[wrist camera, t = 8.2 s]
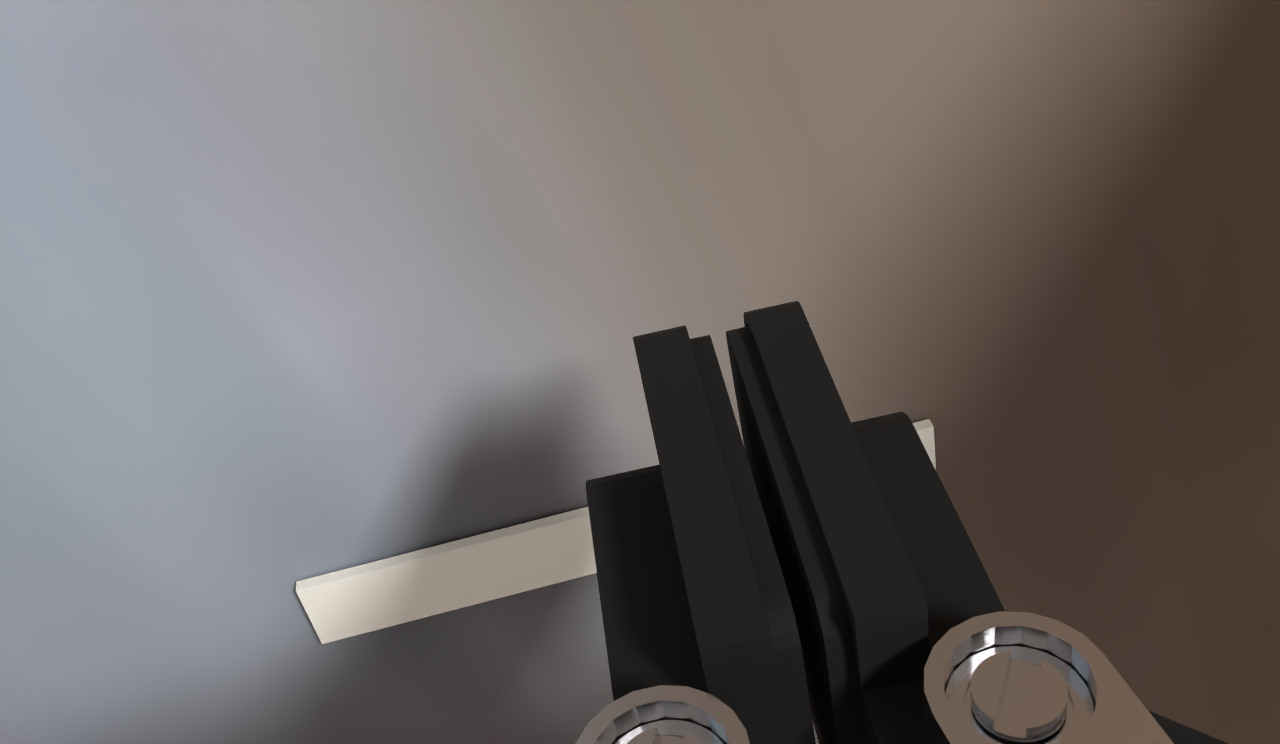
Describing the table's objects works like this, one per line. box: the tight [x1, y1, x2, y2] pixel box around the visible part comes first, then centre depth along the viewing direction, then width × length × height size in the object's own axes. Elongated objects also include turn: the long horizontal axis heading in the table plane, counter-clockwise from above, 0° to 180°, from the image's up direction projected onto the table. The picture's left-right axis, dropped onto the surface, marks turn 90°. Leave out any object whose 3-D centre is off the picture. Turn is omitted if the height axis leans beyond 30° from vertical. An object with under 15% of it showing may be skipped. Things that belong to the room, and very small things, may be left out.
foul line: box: [296, 419, 936, 644], centre depth 19 cm, size 10×1×1 cm, turn 100°
